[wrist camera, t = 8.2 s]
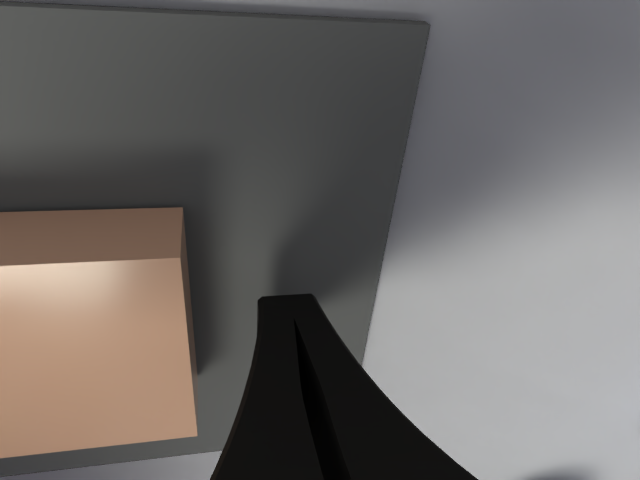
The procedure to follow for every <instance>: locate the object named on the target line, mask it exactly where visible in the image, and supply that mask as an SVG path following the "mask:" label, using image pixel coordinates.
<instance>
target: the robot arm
mask: <svg viewBox="0 0 640 480" xmlns="http://www.w3.org/2000/svg"><path fill="white" fill-rule="evenodd" d="M210 480H478V479H477V478H475V477H474V476H473V475H472V474H470V473H469V472H468V471H466V470H465V469H464V468H463V467H461V466H460V465H459V464H458V463H456V462H455V461H454V460H453V459H452V458H451V457H449V456H448V455H447V454H446V453H445V452H444V451H443V450H441V449H440V448H439V447H438V446H437V445H436V444H435V443H433V442H432V441H431V440H430V439H429V438H428V437H426V436H425V435H424V434H423V433H422V432H421V431H420V430H419V429H418V428H417V427H416V426H415V425H414V424H413V423H412V422H411V421H410V420H409V419H408V418H407V417H406V416H405V415H404V414H403V413H402V412H401V411H400V410H399V409H398V408H397V407H396V406H395V405H394V404H393V403H392V402H391V401H390V400H389V398H388V397H387V396H386V395H385V394H384V393H383V392H382V391H381V389H380V388H379V387H378V386H377V385H376V384H375V382H374V381H373V380H372V379H371V378H370V376H369V375H368V374H367V373H366V372H365V370H364V369H363V368H362V366H361V365H360V364H359V363H358V361H357V360H356V359H355V357H354V356H353V354H352V353H351V352H350V350H349V349H348V348H347V346H346V345H345V344H344V342H343V341H342V339H341V338H340V336H339V335H338V333H337V332H336V330H335V329H334V327H333V326H332V324H331V323H330V321H329V320H328V318H327V316H326V315H325V313H324V311H323V310H322V308H321V306H320V305H319V303H318V301H317V299H316V297H315V296H314V295H313V294H312V293H309V294H293V295H277V296H262V297H261V298H260V299H258V302H257V338H256V344H255V349H254V353H253V358H252V363H251V368H250V371H249V375H248V379H247V382H246V386H245V389H244V393H243V396H242V399H241V402H240V405H239V409H238V411H237V414H236V417H235V420H234V423H233V425H232V428H231V431H230V434H229V436H228V439H227V441H226V443H225V446H224V448H223V451H222V453H221V456H220V458H219V461H218V463H217V465H216V467H215V470H214V472H213V474H212V476H211V478H210Z"/></svg>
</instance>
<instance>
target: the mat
mask: <svg viewBox="0 0 640 480" xmlns="http://www.w3.org/2000/svg"><path fill="white" fill-rule="evenodd" d="M429 29H430V25H429V24H428V23H427V22H425V21H406V20H385V19H363V18H342V17H321V16H299V15H278V14H257V13H235V12H214V11H193V10H171V9H150V8H129V7H107V6H86V5H65V4H43V3H22V2H1V1H0V212H24V211H62V210H99V209H137V208H174V207H183V214H184V226H185V237H186V249H187V261H188V272H189V284H190V295H191V307H192V318H193V330H194V341H195V353H196V364H197V376H198V436H194V437H185V438H176V439H167V440H158V441H150V442H141V443H132V444H123V445H114V446H105V447H96V448H87V449H78V450H70V451H61V452H52V453H43V454H34V455H25V456H16V457H7V458H0V477H3V476H12V475H20V474H29V473H37V472H45V471H54V470H62V469H71V468H79V467H88V466H96V465H104V464H113V463H121V462H130V461H138V460H146V459H155V458H163V457H172V456H180V455H188V454H197V453H205V452H214V451H222V450H223V448H224V446H225V443H226V441H227V439H228V436H229V434H230V431H231V428H232V425H233V423H234V420H235V417H236V414H237V411H238V409H239V405H240V402H241V399H242V396H243V393H244V389H245V386H246V382H247V379H248V375H249V371H250V368H251V363H252V358H253V353H254V349H255V344H256V338H257V302H258V299H260V298H261V297H262V296H277V295H293V294H309V293H312V294H313V295H314V296H315V297H316V299H317V301H318V303H319V305H320V306H321V308H322V310H323V311H324V313H325V315H326V316H327V318H328V320H329V321H330V323H331V324H332V326H333V327H334V329H335V330H336V332H337V333H338V335H339V336H340V338H341V339H342V341H343V342H344V344H345V345H346V346H347V348H348V349H349V350H350V352H351V353H352V354H353V356H354V357H355V359H356V360H357V361H358V363H359V364H360V365H362V360H363V355H364V350H365V345H366V340H367V335H368V330H369V325H370V321H371V316H372V311H373V306H374V301H375V296H376V291H377V286H378V281H379V276H380V271H381V266H382V261H383V256H384V251H385V246H386V242H387V237H388V232H389V227H390V222H391V217H392V212H393V207H394V202H395V197H396V192H397V187H398V182H399V177H400V172H401V168H402V163H403V158H404V153H405V148H406V143H407V138H408V133H409V128H410V123H411V118H412V113H413V108H414V103H415V98H416V94H417V89H418V84H419V79H420V74H421V69H422V64H423V59H424V54H425V49H426V44H427V39H428V34H429Z"/></svg>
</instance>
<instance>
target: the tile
mask: <svg viewBox="0 0 640 480" xmlns="http://www.w3.org/2000/svg"><path fill="white" fill-rule="evenodd" d="M194 436H198V376H197V364H196V353H195V341H194V330H193V318H192V307H191V295H190V284H189V272H188V261H187V249H186V237H185V226H184V214H183V207H174V208H137V209H99V210H62V211H24V212H0V458H7V457H16V456H25V455H34V454H43V453H52V452H61V451H70V450H78V449H87V448H96V447H105V446H114V445H123V444H132V443H141V442H150V441H158V440H167V439H176V438H185V437H194Z"/></svg>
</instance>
